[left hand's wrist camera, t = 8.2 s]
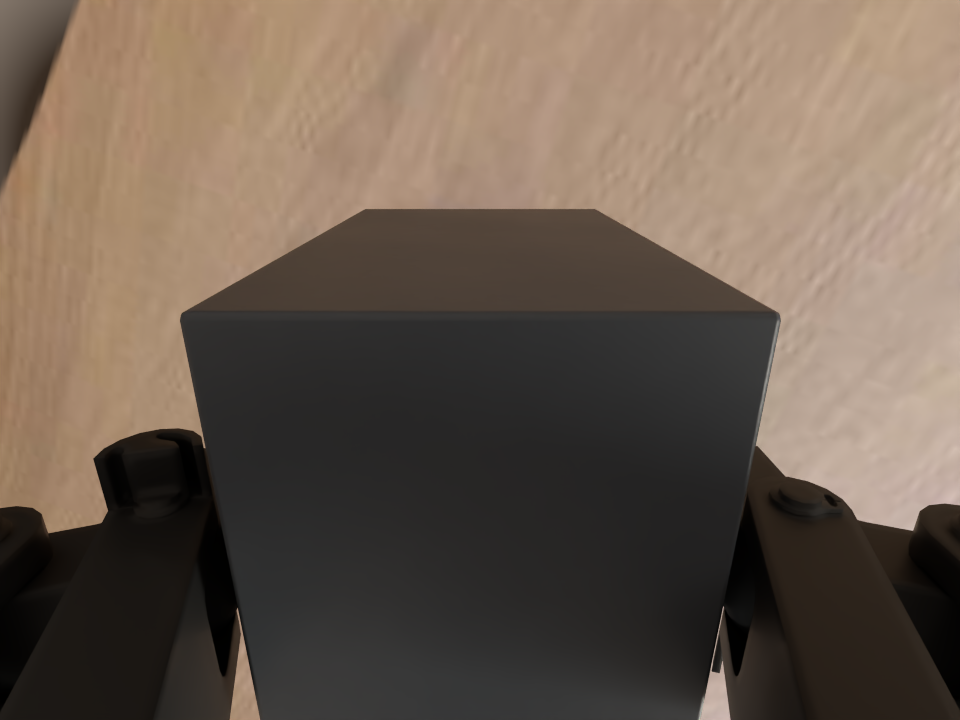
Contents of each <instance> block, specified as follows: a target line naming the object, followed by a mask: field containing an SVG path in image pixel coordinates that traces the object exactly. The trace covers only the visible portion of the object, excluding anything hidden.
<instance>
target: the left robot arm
mask: <svg viewBox="0 0 960 720" xmlns="http://www.w3.org/2000/svg"><path fill="white" fill-rule="evenodd" d="M94 463H95V466H96V470H97V473H98V477H99V480H100V484H101V487H102V491H103V494H104V498H105V501H106V505H107V508H108V512H107V514H106V516H105V518H104V520H103V522H102V523H100V524H96V525H91V526H86V527H80V528H75V529H70V530H64V531H59V532H54V533H48V532H47V529H46V526H45V523H44V520H43V517H42V514H41V513H39V512H38V511H36V510H35V509H33V508H28V507H19V506H15V507H7V508H0V720H230V712H231V704H232V697H233V689H234V682H235V674H236V666H237V659H238V651H239V644H240V636H241V633H240V626H239V620H238V615H237V608H238V606H237V601H236V596H235V591H234V586H233V581H232V576H231V571H230V566H229V561H228V556H227V551H226V546H225V541H224V536H223V531H222V526H221V521H220V516H219V511H218V506H217V501H216V496H215V492H214V487H213V482H212V477H211V472H210V467H209V462H208V457H207V452H206V448H203V443H202V438H201V436H200V435H198V434H197V433H195V432H194V431H190V430H184V429H159V430H154V431H149V432H143V433H139V434H136V435H133V436H130V437H127V438H124V439H122V440H119V441H117V442H116V443H114V444H112V445H110V446H108V447H106V448H104V449H103V450H102V451H101V452H100V453H99V454H98V455H97V456H96V457H95V458H94ZM723 606H724V610H723V615H722V620H721V625H720V630H719V635H718V640H717V645H716V650H715V655H714V660H713V666H712V672H717V673H720V669H721V664H722V661H723V665H724V673H725V680H726V688H727V695H728V703H729V711H730V718H731V720H960V505H952V504H937V505H929V506H927V507H926V508H924V509H923V510H921V511H920V513H919V516H918V518H917V521H916V524H915V527H914V530H913V531H910V530H905V529H899V528H894V527H889V526H883V525H878V524H872V523H867V522H863V521H859V520H857V519H856V517H855V515H854V513H853V511H852V510H851V509H850V507H849V506H848V505H847V504H846V503H845V502H844V501H843V499H841V498H840V497H838V496H837V495H835V494H834V493H832V492H830V491H829V490H827V489H825V488H823V487H820V486H818V485H815V484H813V483H810V482H808V481H803V480H799V479H795V478H790V477H785V476H784V475H783V474H782V472H781V471H780V470H779V469H778V468H777V467H776V466H775V465H774V464H773V463H772V462H771V460H770V459H769V458H768V457H767V456H766V455H765V454H764V453H763V452H762V451H761V450H760V448H759V447H758V446H755V451H754V456H753V460H752V465H751V470H750V475H749V480H748V485H747V490H746V495H745V500H744V505H743V510H742V515H741V520H740V525H739V530H738V535H737V540H736V545H735V550H734V555H733V559H732V564H731V569H730V574H729V579H728V584H727V589H726V594H725V599H724V604H723Z"/></svg>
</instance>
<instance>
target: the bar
mask: <svg viewBox="0 0 960 720" xmlns="http://www.w3.org/2000/svg"><path fill="white" fill-rule="evenodd" d="M780 322H781V320H780V315H779V313H778V312H776V311H774V310H772V309H771V308H769V307H767V306H765V305H764V304H762V303H760V302H758V301H756V300H755V299H753V298H751V297H749V296H748V295H746V294H744V293H742V292H741V291H739V290H737V289H735V288H733V287H732V286H730V285H728V284H726V283H725V282H723V281H721V280H719V279H718V278H716V277H714V276H712V275H710V274H709V273H707V272H705V271H703V270H702V269H700V268H698V267H696V266H695V265H693V264H691V263H689V262H687V261H686V260H684V259H682V258H680V257H679V256H677V255H675V254H673V253H672V252H670V251H668V250H666V249H664V248H663V247H661V246H659V245H657V244H656V243H654V242H652V241H650V240H649V239H647V238H645V237H643V236H642V235H640V234H638V233H636V232H634V231H633V230H631V229H629V228H627V227H626V226H624V225H622V224H620V223H619V222H617V221H615V220H613V219H611V218H610V217H608V216H606V215H604V214H603V213H601V212H599V211H597V210H595V209H365V210H363V211H361V212H359V213H358V214H356V215H354V216H352V217H351V218H349V219H347V220H345V221H344V222H342V223H340V224H338V225H337V226H335V227H333V228H331V229H329V230H328V231H326V232H324V233H322V234H321V235H319V236H317V237H315V238H314V239H312V240H310V241H308V242H307V243H305V244H303V245H301V246H300V247H298V248H296V249H294V250H292V251H291V252H289V253H287V254H285V255H284V256H282V257H280V258H278V259H277V260H275V261H273V262H271V263H270V264H268V265H266V266H264V267H262V268H261V269H259V270H257V271H255V272H254V273H252V274H250V275H248V276H247V277H245V278H243V279H241V280H240V281H238V282H236V283H234V284H232V285H231V286H229V287H227V288H225V289H224V290H222V291H220V292H218V293H217V294H215V295H213V296H211V297H210V298H208V299H206V300H204V301H202V302H201V303H199V304H197V305H195V306H194V307H192V308H190V309H188V310H187V311H185V312H183V313H182V314H181V318H180V323H181V328H182V332H183V337H184V342H185V347H186V352H187V357H188V362H189V367H190V372H191V377H192V382H193V387H194V392H195V397H196V402H197V407H198V412H199V417H200V422H201V427H202V432H203V437H204V442H205V447H206V452H207V457H208V462H209V467H210V472H211V477H212V482H213V487H214V492H215V496H216V501H217V506H218V511H219V516H220V521H221V526H222V531H223V536H224V541H225V546H226V551H227V556H228V561H229V566H230V571H231V576H232V581H233V586H234V591H235V596H236V601H237V606H238V611H239V616H240V621H241V626H242V631H243V636H244V641H245V646H246V651H247V656H248V660H249V665H250V670H251V675H252V680H253V685H254V690H255V695H256V700H257V705H258V710H259V715H260V720H700V718H701V713H702V708H703V703H704V698H705V693H706V688H707V683H708V678H709V673H710V668H711V663H712V658H713V654H714V649H715V644H716V639H717V634H718V629H719V624H720V619H721V614H722V609H723V604H724V599H725V594H726V589H727V584H728V579H729V574H730V569H731V564H732V559H733V555H734V550H735V545H736V540H737V535H738V530H739V525H740V520H741V515H742V510H743V505H744V500H745V495H746V490H747V485H748V480H749V475H750V470H751V465H752V460H753V456H754V451H755V446H756V441H757V436H758V431H759V426H760V421H761V416H762V411H763V406H764V401H765V396H766V391H767V386H768V381H769V376H770V371H771V366H772V361H773V357H774V352H775V347H776V342H777V337H778V332H779V327H780Z"/></svg>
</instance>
